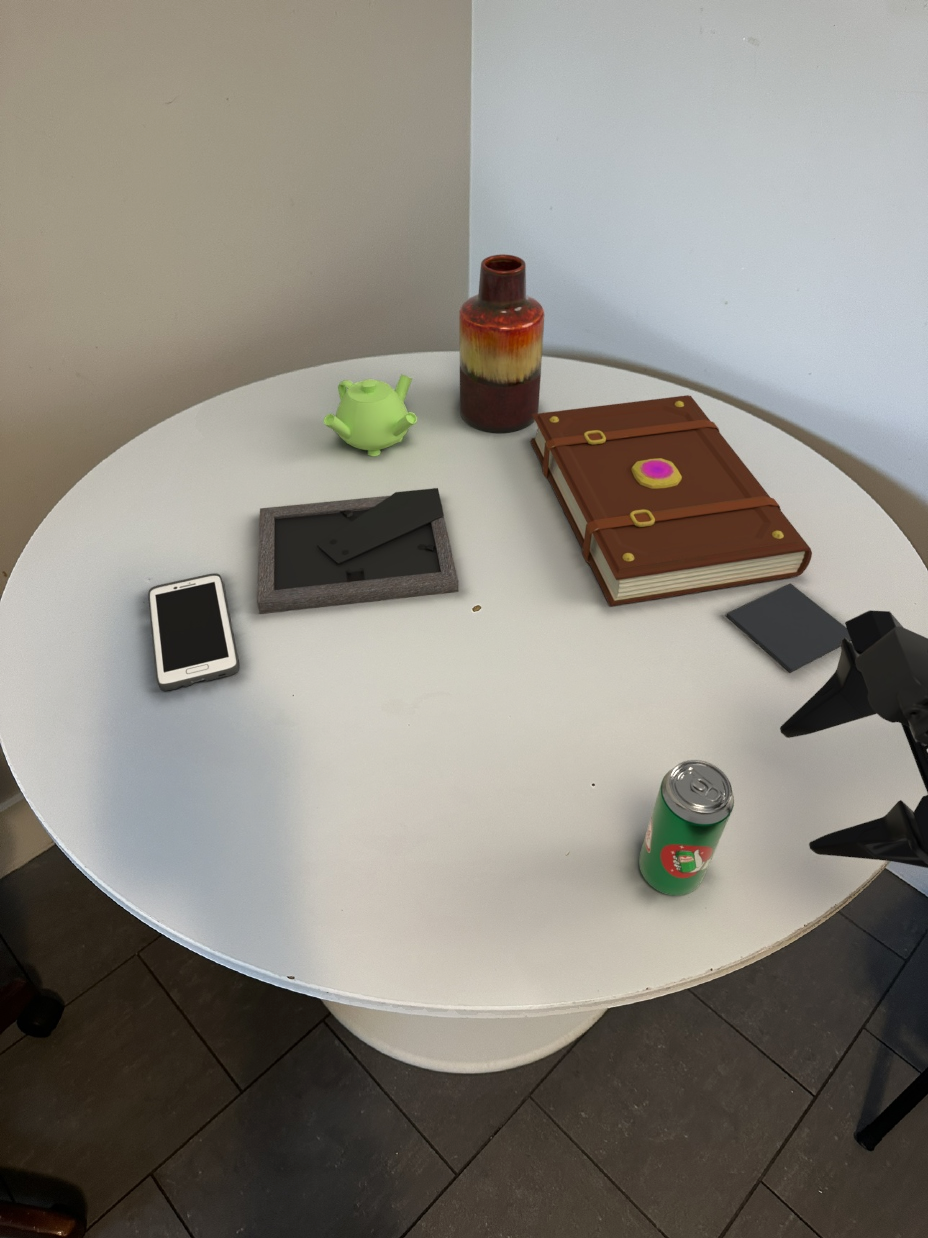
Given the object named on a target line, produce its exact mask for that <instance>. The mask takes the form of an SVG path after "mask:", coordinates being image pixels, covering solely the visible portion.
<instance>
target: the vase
mask: <svg viewBox="0 0 928 1238" xmlns="http://www.w3.org/2000/svg"><path fill="white" fill-rule="evenodd" d="M526 265H527V264H526V262H525V260H524V259H523V258H522V257H519V256H517V255H513V254H505V253H504V254H503V253H502V254H494V255H490V256H487V257H485V258H484V259H482V260H481V262H480V269H479V281H478V293H477V294H476V295H473V296H471V297H469V298H468V299H466V300H465V301H464V302H462V303H463V304H462V305H461V306H460V309H459V311H458V313H459V315H458V316H459V317H458V324H459V325H458V334H459V343H458V345H459V346H458V347H459V348H458V349H459V413H460V416H461V418H462V420H463V421H464V422H465V423H466V424H467V425H469V426H470V427H472V428H473V429H476V430H479V431H482V432H487V433H495V434H505V433H513V432H517V431H521V430H524V429H525V428H527V427H529V426H531V425H532V424H533V423H534V422H536V421H535V420H534V418H533V416H532V414H538V413H539V405H540V392H541V378H542V363H543V362H542V361H543V349H544V348H543V346H544V330H545V315H546V314H545V309H544V307H543V305H542V304H541V303H540V301H538V300H537V299H536V298H534V297H532V296H531V295H528V294H527V266H526Z"/></svg>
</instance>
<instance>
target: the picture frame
mask: <svg viewBox="0 0 928 1238" xmlns="http://www.w3.org/2000/svg"><path fill="white" fill-rule="evenodd" d="M258 523H259V525H258V526H259V527H258V534H259V535H258V561H257V563H258V564H257V594H256V595H257V600H256V603H257V608H258V611H259V614H260V615H261V614H269V613H279V612H287V611H297V610H298V611H299V610H304V609H314V608H315V609H316V608H325V607H332V606H333V607H334V606H340V605H352V604H361V603H369V602H379V601H387V600H395V599H405V598H412V597H422V596H431V595H440V594H441V595H442V594H449V593H457V592H459V578H458V577H459V576H458V572H457V568H456V565H455V564H456V563H455V559H454V555H453V551H452V546H451V542H450V537H449V531H448V529H447V525H446V520H445V514H444V509H443V505H442V499H441V496H440V491H439V488H438V487H433V488H423V489H414V490H412V489H411V490H403V491H395V492H394V493H392V494H391V495H381V496H371V497H361V498H351V499H341V500H332V501H321V502H320V501H319V502H311V503H300V504H289V505H279V506H271V507H260V508H259V522H258Z"/></svg>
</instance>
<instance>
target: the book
mask: <svg viewBox="0 0 928 1238" xmlns="http://www.w3.org/2000/svg"><path fill="white" fill-rule="evenodd" d="M532 416H533V418H534V420H535V421H534V422H535V424H536V427H537V429H536V434H535V437H532V438H531V439H530V441H529V443H530V444H531V446H532V448H533V450H534V452H535V454H536V457H537V458H538V460H539V462H540V465H541V467H542V473H543V475H544V477H545V479H548V481H549V483H550V485H551V488H552V489H553V491H554V493H555V495H556V498H557V500H558V502H559V504H560V505H561V508H562V510H563V512H564V514H565V516H566V518H567V520H568V523H569V525H570V526H571V529H572V530H573V533H574V535H575V537H576V538H577V541H578V543H579V545H580V547H581V549H582V553H581V554H582V556H583V559H584V560H585V562H586V563H588V564H589V566H590V568H591V570H592V572H593V574H594V576H595V578H596V580H597V582H598V584H599V587H600V589H601V591H602V592H603V595H604V597H605V599H606V601H607V603H608V605H609V606H610V607H613V606H618V605H625V604H630V603H638V602H644V601H651V600H657V599H662V598H663V599H664V598H668V597H676V596H682V595H689V594H694V593H695V594H696V593H700V592H708V591H712V590H713V591H714V590H718V589H719V590H720V589H724V588H725V589H726V588H733V587H738V586H745V585H750V584H757V583H764V582H770V581H776V580H777V581H778V580H782V579H789V578H795V577H798V576H801V575H802V574H803V573H804V572H805V571H806V570H807V568H808V566H809V565H810V562H811V561H812V557H813V551H812V548H811V547H810V546H809V545H808V543H807V542H806V541H805V539H804V538H803V537H802V535H801V534H800V533H799V532H798V530H797V529H796V527H794V525H793V524H792V523H791V522H790V520H789V519H788V518H787V516H786V515H785V513H783V511H782V510H781V506H780V504H779V503H778V501H776V499H775V498H774V497H771V496H770V494H768V492H767V491H766V490H765V488H764V487H763V486H762V485H761V483H760V482H759V481H758V479H757V478H756V476H755V475H754V474H753V473H752V472H751V471H750V469H749V468H748V467H747V465H746V464H745V463H744V461H742V459H741V458H740V456H739V455H738V454H737V453H736V451H735V450H734V449H733V448H732V446H731V444H729V442H728V441H727V440H726V439H725V437H724V436H723V435H722V433H721V432H720V429H719V426H718V425H716V423H715V422H714V421H711V420H710V418H709V417H708V416H707V414H706V413H705V412H704V410H703V409H702V408H701V406H699V404H698V403H697V402H696V400H695V399H694V398H693V397H692V395H689V394H687V395H677V396H670V397H663V398H655V399H654V398H653V399H646V400H638V401H636V400H635V401H628V402H620V403H612V404H605V405H604V404H603V405H596V406H587V407H581V408H571V409H563V410H555V411H554V410H553V411H547V412H538V414H532Z"/></svg>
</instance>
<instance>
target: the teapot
mask: <svg viewBox="0 0 928 1238" xmlns="http://www.w3.org/2000/svg"><path fill="white" fill-rule="evenodd" d="M412 381H413V377H410V376H407V375H405V374H402V373H401V374H400V376H399V379H398V381H397V384H396V387H395V389H394V387H392V386H391V385H390V384H388V383H387V382H384V381H381V380H377V379H371V378H368V379H363V380H361V381H358V382H357V381H356V383H354V382H353V381H351V380H349V379H345V380H342V381H340V382H339V383H338V385H337V391H338V396H339V399H340V402H339V404H338V406H337V409H336V413H335V415H334V414H332V413H328V414H326V415H325V417H324V418H323V424H324V425H325V426H326V427H328V428H329V429H331V430H332V431H334V432H335V433H337V435H338V436H339V437H340V438H341V440H343V441H344V442H345V443H346V445H350V446H351V447H354V448H356V449H359V450H364V451H367V455H368V456H369V457H378V456H380V455H381V453H382V452H381V450H384V449H386V448H390V447H392V446H394V445H396V444H398V443H400V442H401V443H402V441H403V440H404V437H405V435H406V434H407V433H408V430H409V429H410V428H411V427H412V426H414V425H415V424H416V423H417V422H418V417H417V415H416V414H415V413H414V412H412V411H409V412H408V409H407V406H406V404H405V400H406V397H407V395H408V392H409V390H410V386H411V384H412Z"/></svg>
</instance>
